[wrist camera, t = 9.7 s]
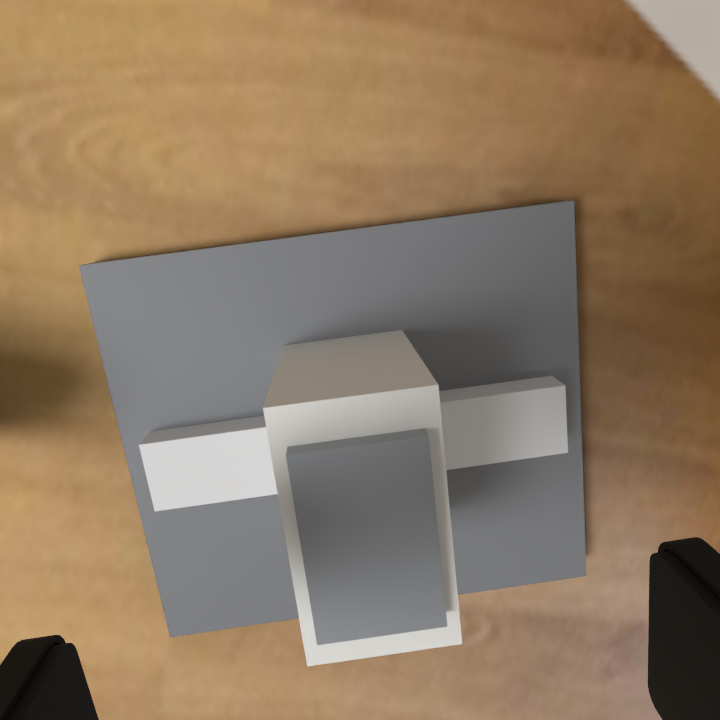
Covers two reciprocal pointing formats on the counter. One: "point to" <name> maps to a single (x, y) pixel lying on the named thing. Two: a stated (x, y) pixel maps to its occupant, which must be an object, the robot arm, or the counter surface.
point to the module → (363, 497)
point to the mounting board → (338, 320)
